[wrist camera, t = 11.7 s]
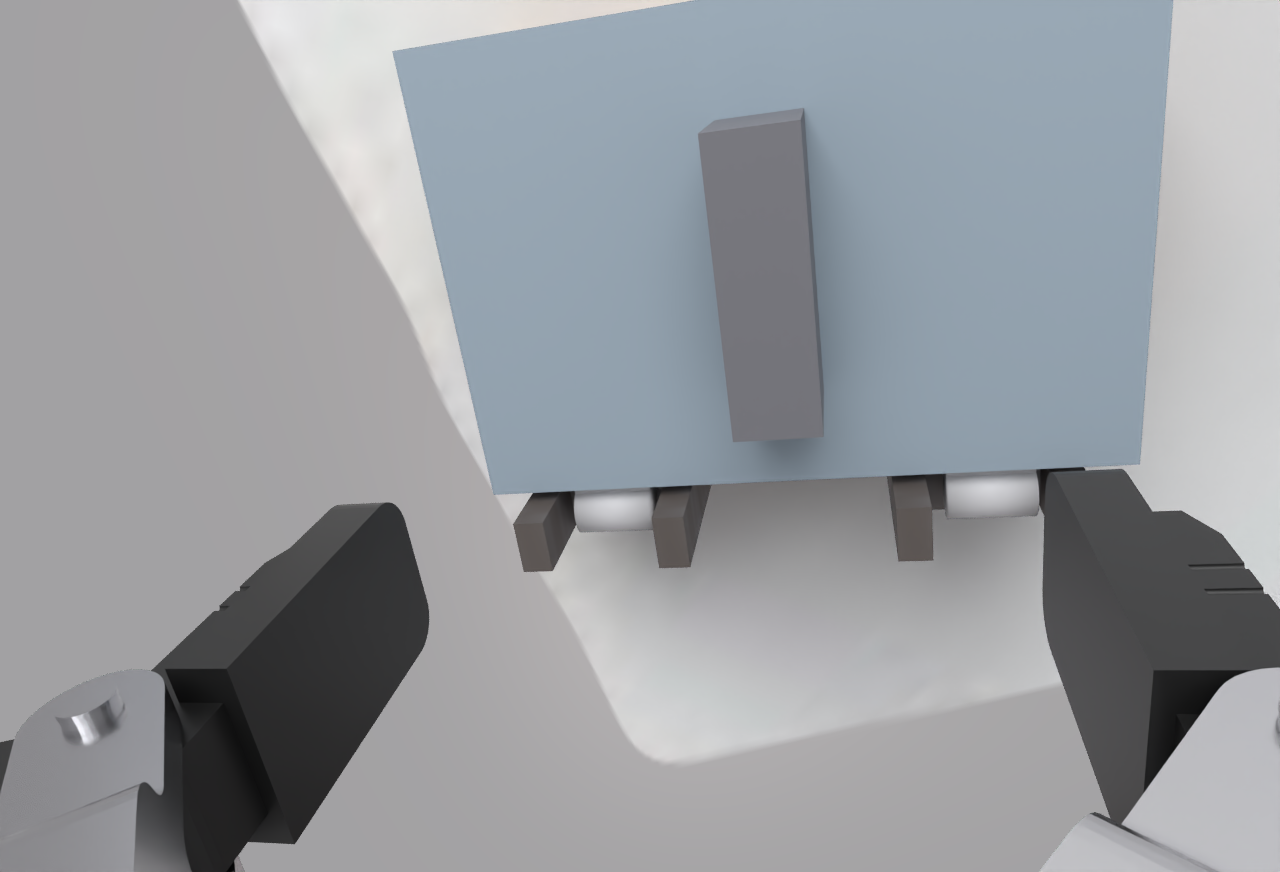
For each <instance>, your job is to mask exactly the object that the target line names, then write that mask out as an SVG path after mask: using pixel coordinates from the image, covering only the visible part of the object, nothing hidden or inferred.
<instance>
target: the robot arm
mask: <svg viewBox="0 0 1280 872" xmlns="http://www.w3.org/2000/svg"><path fill="white" fill-rule="evenodd" d="M1043 611H1044V620H1045V627H1046V633H1047V638H1048V642H1049V646H1050V649H1051V652H1052V655H1053V658H1054V660H1055V663H1056V666H1057V669H1058V672H1059V675H1060V677H1061V680H1062V683H1063V686H1064V689H1065V691H1066V694H1067V697H1068V700H1069V703H1070V705H1071V708H1072V711H1073V714H1074V717H1075V719H1076V722H1077V725H1078V728H1079V731H1080V733H1081V736H1082V739H1083V742H1084V745H1085V748H1086V750H1087V753H1088V756H1089V759H1090V762H1091V765H1092V767H1093V770H1094V773H1095V776H1096V779H1097V781H1098V784H1099V787H1100V790H1101V793H1102V796H1103V798H1104V801H1105V804H1106V807H1107V810H1108V812H1109V815H1110V818H1111V819H1110V818H1108V817H1105V816H1103V815H1101V814H1099V813H1096V812H1094V813H1090V814H1088V815H1086V816H1085V817H1083V818H1082V819H1081V820H1080V821H1079V822H1078V823H1077V824H1076V825H1075V826H1074V827H1073V828H1072V830H1071V831H1070V832H1069V833H1068V834H1067V836H1066V837H1065V838H1064V840H1063V841H1062V842H1061V844H1060V845H1059V846H1058V847H1057V849H1056V850H1055V851H1054V853H1053V854H1052V855H1051V857H1050V858H1049V859H1048V860H1047V862H1046V863H1045V864H1044V866H1043V867H1042V868H1041V870H1040V871H1039V872H1280V609H1279V607H1278V606H1277V605H1276V603H1275V602H1274V601H1273V600H1272V598H1271V597H1270V596H1269V594H1264V592H1263V587H1262V585H1261V584H1260V583H1259V581H1258V580H1257V579H1256V578H1255V576H1254V575H1253V574H1252V572H1251V571H1250V570H1249V569H1245V567H1244V562H1243V561H1242V560H1241V558H1240V557H1239V556H1238V554H1237V553H1236V552H1235V551H1234V549H1233V548H1232V547H1231V545H1230V544H1229V543H1228V541H1227V540H1226V539H1225V538H1224V536H1223V535H1222V534H1221V533H1219V532H1217V531H1215V530H1214V529H1212V528H1210V527H1208V526H1207V525H1205V524H1203V523H1202V522H1200V521H1198V520H1196V519H1195V518H1193V517H1191V516H1190V515H1188V514H1186V513H1184V512H1183V511H1159V512H1152V510H1151V509H1150V507H1149V506H1148V504H1147V503H1146V501H1145V500H1144V498H1143V497H1142V495H1141V494H1140V492H1139V491H1138V489H1137V488H1136V486H1135V485H1134V483H1133V482H1132V480H1131V479H1130V477H1129V476H1128V474H1127V473H1126V472H1125V471H1124V470H1123V469H1112V470H1091V471H1070V472H1051V473H1049V475H1048V478H1047V482H1046V489H1045V516H1044V555H1043ZM428 627H429V609H428V603H427V599H426V595H425V592H424V588H423V584H422V581H421V577H420V574H419V570H418V566H417V563H416V559H415V556H414V552H413V549H412V545H411V541H410V538H409V534H408V531H407V527H406V523H405V520H404V517H403V515H402V513H401V511H400V510H399V508H398V507H397V506H396V505H394V504H393V503H370V504H347V505H337V506H334V507H333V508H331V509H330V510H329V511H328V512H327V513H326V514H325V515H324V516H323V517H322V518H321V519H320V520H319V521H318V522H317V523H316V524H315V525H314V526H312V528H310V529H309V530H308V531H307V532H306V533H305V534H304V535H303V536H302V537H301V538H300V539H299V540H298V541H297V542H296V543H295V544H294V545H293V546H292V547H291V548H290V549H288V550H286V551H284V552H283V553H281V554H279V555H278V556H276V557H274V558H273V559H271V560H269V561H268V562H266V563H264V565H262V566H261V567H260V568H259V569H258V570H257V571H256V572H255V573H254V574H253V575H252V576H251V577H250V578H249V579H248V580H247V581H245V582H244V583H243V584H242V585H241V586H240V591H235V592H234V593H233V594H232V595H231V596H230V597H229V598H227V600H225V601H224V602H223V603H222V604H221V605H220V610H219V611H214V612H213V613H212V614H211V615H210V616H209V617H207V618H206V619H205V620H204V621H203V622H202V623H201V624H200V625H199V626H198V627H197V628H196V629H195V630H194V631H193V632H192V633H190V635H188V636H187V637H186V638H185V639H184V640H183V641H182V642H181V643H180V644H179V645H178V646H177V647H176V648H175V649H174V650H173V651H172V652H170V653H169V655H167V656H166V657H165V658H164V659H163V660H162V661H161V662H160V663H159V664H158V665H157V666H156V667H155V668H154V669H152V670H151V671H150V670H142V669H133V670H124V671H118V672H114V673H110V674H106V675H103V676H100V677H97V678H94V679H91V680H89V681H86V682H84V683H81V684H79V685H77V686H75V687H73V688H71V689H69V690H67V691H65V692H63V693H62V694H60V695H58V696H57V697H55V698H53V699H52V700H50V701H49V702H47V703H46V704H45V705H43V706H42V707H41V708H39V709H38V710H37V711H36V712H35V713H34V714H33V715H31V716H30V717H29V718H28V719H27V720H26V722H25V723H24V724H23V725H22V726H21V728H20V729H19V731H18V732H17V734H16V736H15V739H14V740H9V741H5V742H0V872H245V871H244V868H243V866H242V864H241V861H240V859H239V857H238V855H239V853H240V852H241V850H242V849H243V848H244V846H245V845H246V844H247V842H264V843H283V844H295V843H296V842H297V840H298V839H299V837H300V835H301V834H302V832H303V831H304V829H305V828H306V826H307V825H308V823H309V822H310V820H311V819H312V817H313V816H314V814H315V813H316V811H317V809H318V808H319V806H320V805H321V803H322V802H323V800H324V799H325V797H326V796H327V794H328V793H329V791H330V790H331V788H332V787H333V785H334V784H335V782H336V781H337V779H338V778H339V776H340V775H341V773H342V771H343V770H344V768H345V767H346V765H347V764H348V762H349V761H350V759H351V758H352V756H353V755H354V753H355V752H356V750H357V749H358V747H359V745H360V744H361V742H362V741H363V739H364V738H365V736H366V735H367V733H368V732H369V730H370V729H371V727H372V726H373V724H374V723H375V721H376V720H377V718H378V717H379V715H380V714H381V712H382V710H383V709H384V707H385V706H386V704H387V703H388V701H389V700H390V698H391V697H392V695H393V694H394V692H395V691H396V689H397V688H398V686H399V684H400V683H401V681H402V680H403V678H404V677H405V675H406V674H407V672H408V671H409V669H410V668H411V666H412V665H413V663H414V662H415V660H416V659H417V657H418V655H419V654H420V652H421V651H422V649H423V647H424V645H425V642H426V638H427V634H428Z"/></svg>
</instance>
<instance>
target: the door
mask: <svg viewBox="0 0 1280 872" xmlns="http://www.w3.org/2000/svg"><path fill="white" fill-rule="evenodd" d="M1172 10H1173V0H694V1H688V2H682V3H676V4H670V5H664V6H658V7H652V8H647V9H641V10H635V11H629V12H623V13H617V14H611V15H605V16H599V17H593V18H587V19H581V20H575V21H569V22H564V23H558V24H552V25H546V26H540V27H534V28H528V29H522V30H516V31H510V32H504V33H498V34H492V35H486V36H480V37H475V38H469V39H463V40H457V41H451V42H445V43H439V44H433V45H427V46H421V47H415V48H409V49H403V50H397V51H393V56H394V60H395V65H396V69H397V73H398V78H399V82H400V86H401V91H402V95H403V100H404V104H405V108H406V113H407V117H408V122H409V126H410V130H411V135H412V139H413V143H414V148H415V152H416V157H417V161H418V165H419V170H420V174H421V178H422V183H423V187H424V192H425V196H426V200H427V205H428V209H429V214H430V218H431V222H432V227H433V231H434V235H435V240H436V244H437V249H438V253H439V257H440V262H441V266H442V270H443V275H444V279H445V284H446V288H447V292H448V297H449V301H450V306H451V310H452V314H453V319H454V323H455V327H456V332H457V336H458V341H459V345H460V349H461V354H462V358H463V362H464V367H465V371H466V376H467V380H468V384H469V389H470V393H471V398H472V402H473V406H474V411H475V415H476V419H477V424H478V428H479V433H480V437H481V441H482V446H483V450H484V454H485V459H486V463H487V468H488V472H489V476H490V481H491V485H492V490H493V494H494V495H498V494H519V493H540V492H562V491H575V498H574V515H575V521H576V525H577V528H578V530H579V531H580V532H604V531H632V530H653V525H652V516H653V513H654V510H655V508H656V505H657V502H658V499H659V495H658V490H657V487H668V486H689V485H711V484H732V483H753V482H774V481H796V480H817V479H838V478H860V477H881V476H902V475H923V474H943V499H944V508H945V514H946V518H947V519H963V518H991V517H1019V516H1037V514H1038V510H1039V486H1038V479H1037V474H1036V469H1051V468H1072V467H1094V466H1115V465H1136V464H1140V455H1141V441H1142V427H1143V413H1144V400H1145V386H1146V372H1147V358H1148V344H1149V330H1150V316H1151V302H1152V288H1153V274H1154V261H1155V247H1156V233H1157V219H1158V205H1159V191H1160V177H1161V163H1162V149H1163V135H1164V121H1165V108H1166V94H1167V80H1168V66H1169V52H1170V38H1171V24H1172Z"/></svg>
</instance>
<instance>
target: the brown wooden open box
mask: <svg viewBox="0 0 1280 872" xmlns="http://www.w3.org/2000/svg"><path fill="white" fill-rule="evenodd" d="M1070 471H1085V469H1084V467H1072V468H1051V469H1036V474H1037V479H1038V486H1039V505H1040V508H1041V510H1042V512H1043V514H1044V516H1045V489H1046V482H1047V478H1048V475H1049V473H1051V472H1070ZM887 479H888V487H889V494H890V502H891V509H892V516H893V524H894V531H895V538H896V546H897V553H898V560H899V561H928V560H933V533H932V510H933V509H945V508H944V499H943V474H923V475H902V476H887ZM710 487H711V485H689V486H668V487H657V490H658V495H659V499H658V502H657V505H656V508H655V510H654V513H653V516H652V525H653V531H654V537H655V544H656V550H657V556H658V562H659V568H679V567H690V566H691V562H692V558H693V554H694V550H695V546H696V542H697V538H698V534H699V530H700V526H701V522H702V518H703V514H704V511H705V507H706V503H707V499H708V495H709V491H710ZM574 498H575V491H562V492H540V493H533V494H532V496H531V497H530V499H529V500H528V502H527V503H526V505H525V507H524V508H523V510H522V511H521V513H520V514H519V516H518V518H517V519H516V521H515V522H514V524H513V525H514V530H515V534H516V538H517V543H518V547H519V552H520V556H521V561H522V565H523V570H524V572H534V571H536V572H537V571H553V569H554V567H555V565H556V563H557V561H558V559H559V557H560V556H561V554H562V552H563V550H564V548H565V546H566V544H567V542H568V540H569V538H570V536H571V534H572V532H573V530H574V528H575V526H576V521H575V515H574Z"/></svg>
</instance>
